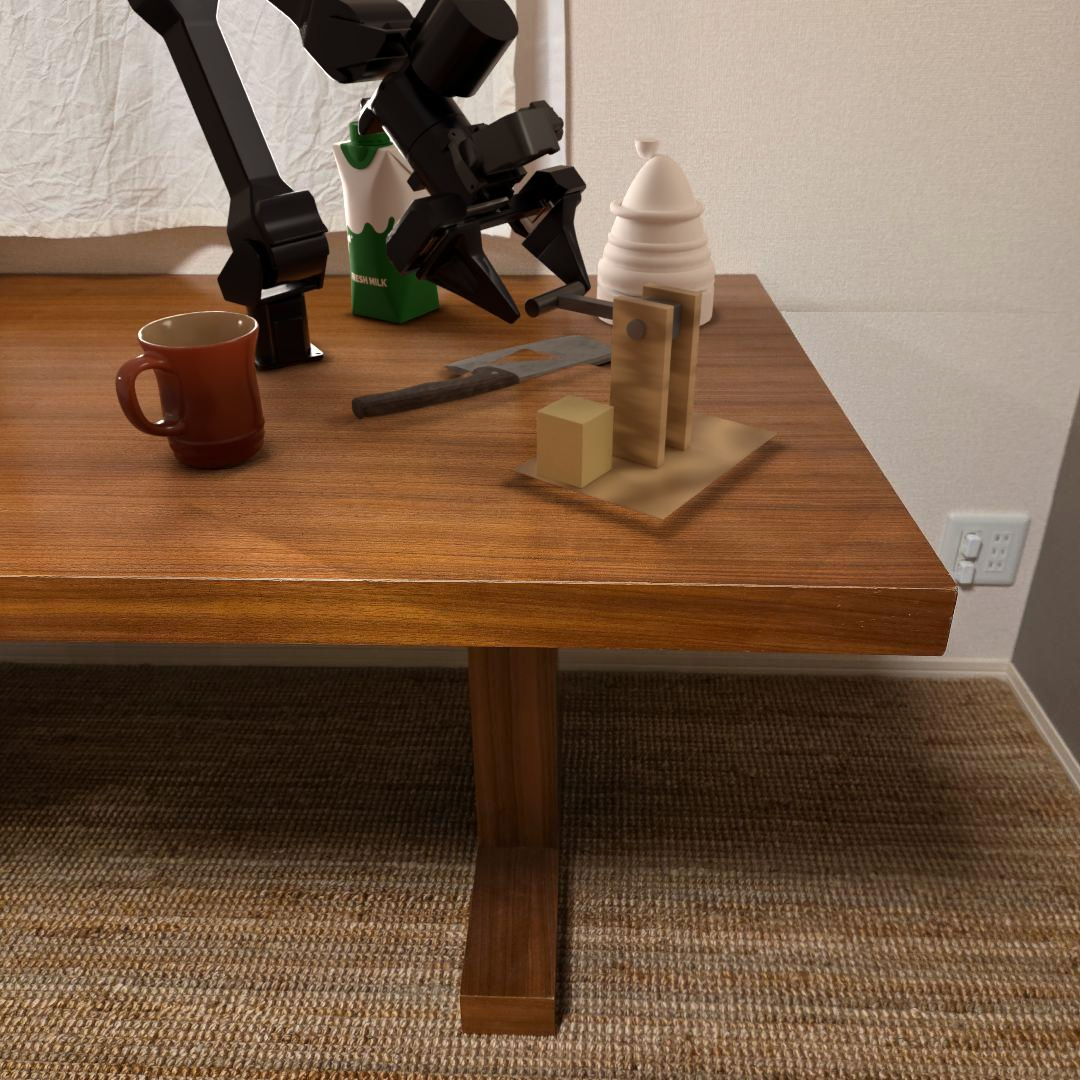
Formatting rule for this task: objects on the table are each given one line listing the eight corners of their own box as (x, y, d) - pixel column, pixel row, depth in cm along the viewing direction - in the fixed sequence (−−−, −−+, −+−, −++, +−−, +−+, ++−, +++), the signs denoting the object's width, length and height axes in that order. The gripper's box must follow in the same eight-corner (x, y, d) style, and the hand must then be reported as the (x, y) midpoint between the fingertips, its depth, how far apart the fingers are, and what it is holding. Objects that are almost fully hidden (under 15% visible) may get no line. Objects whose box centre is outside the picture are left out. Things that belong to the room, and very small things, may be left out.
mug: (223, 424, 85) (203, 304, 80) (300, 446, 81) (283, 322, 76) (103, 477, 77) (72, 347, 72) (182, 505, 73) (154, 369, 67)
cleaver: (382, 437, 82) (380, 413, 81) (320, 404, 89) (318, 381, 88) (632, 360, 100) (634, 339, 98) (565, 337, 106) (566, 317, 105)
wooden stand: (511, 484, 75) (507, 309, 69) (638, 410, 88) (646, 256, 81) (661, 534, 69) (673, 346, 62) (776, 446, 81) (796, 282, 75)
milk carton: (340, 315, 112) (320, 122, 102) (392, 295, 119) (378, 112, 109) (401, 328, 108) (387, 128, 98) (452, 307, 115) (443, 118, 105)
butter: (536, 474, 74) (536, 410, 72) (567, 455, 77) (568, 394, 74) (581, 488, 72) (582, 424, 69) (611, 469, 75) (614, 406, 72)
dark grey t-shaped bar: (524, 322, 76) (524, 290, 75) (570, 303, 80) (570, 273, 79) (650, 351, 70) (652, 317, 69) (693, 329, 74) (695, 297, 73)
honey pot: (572, 315, 112) (574, 143, 103) (640, 290, 120) (647, 129, 111) (668, 339, 105) (680, 156, 96) (733, 311, 113) (749, 140, 104)
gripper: (402, 73, 66) (539, 267, 65) (567, 55, 79) (682, 217, 78) (331, 186, 74) (453, 360, 73) (492, 153, 87) (596, 301, 86)
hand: (552, 305), depth 78 cm, fingers open, 9 cm apart
